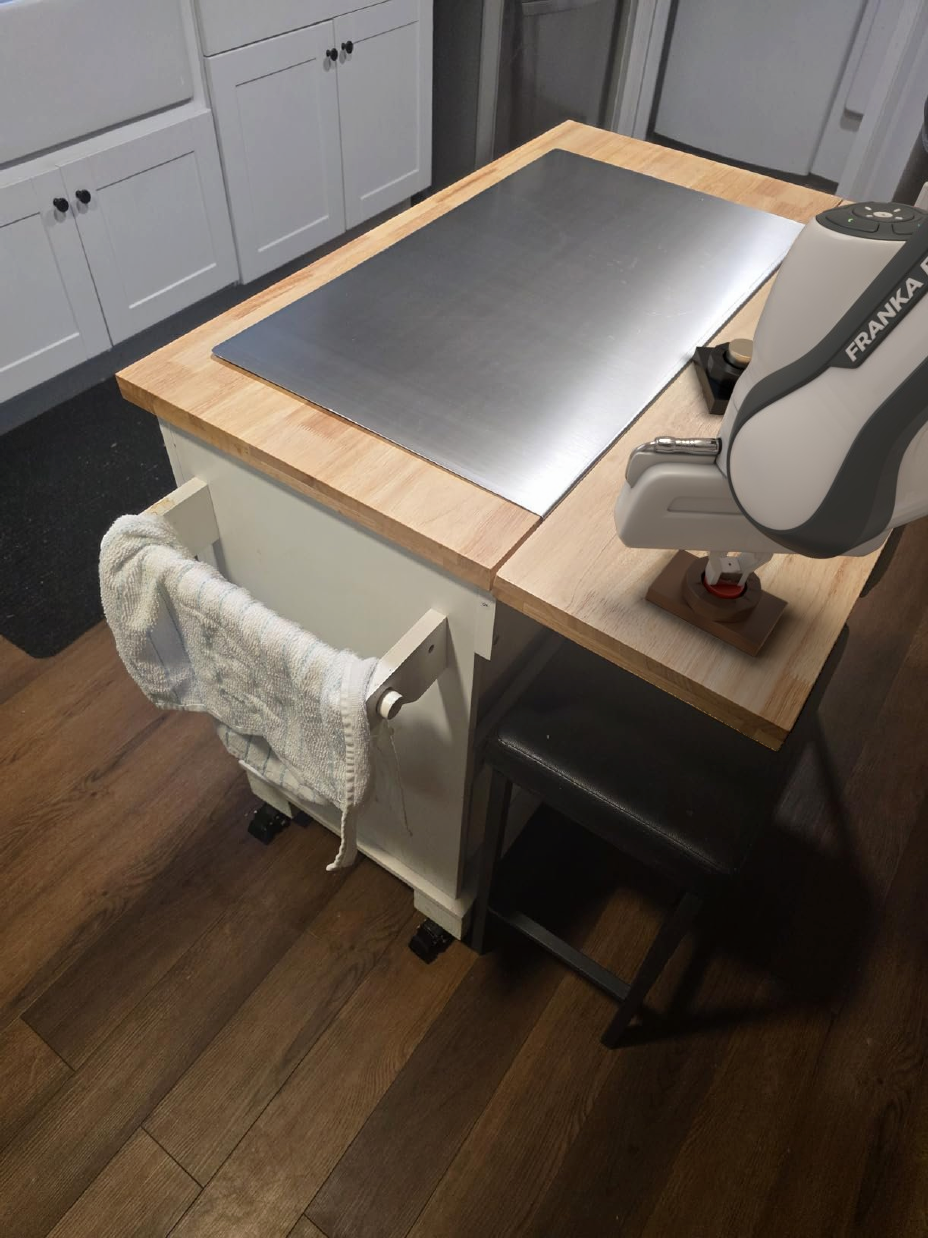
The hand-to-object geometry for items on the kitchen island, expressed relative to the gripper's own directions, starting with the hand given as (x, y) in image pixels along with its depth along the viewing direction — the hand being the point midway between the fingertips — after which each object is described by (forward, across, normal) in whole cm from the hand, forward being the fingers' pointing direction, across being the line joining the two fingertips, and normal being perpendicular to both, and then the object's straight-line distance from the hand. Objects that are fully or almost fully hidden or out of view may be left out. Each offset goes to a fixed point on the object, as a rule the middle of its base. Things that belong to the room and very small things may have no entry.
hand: (723, 579), depth 71 cm
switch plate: (+3, +9, +32) cm, 33 cm away
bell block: (+3, 0, 0) cm, 3 cm away
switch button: (0, +9, +32) cm, 33 cm away
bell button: (+2, 0, 0) cm, 2 cm away
